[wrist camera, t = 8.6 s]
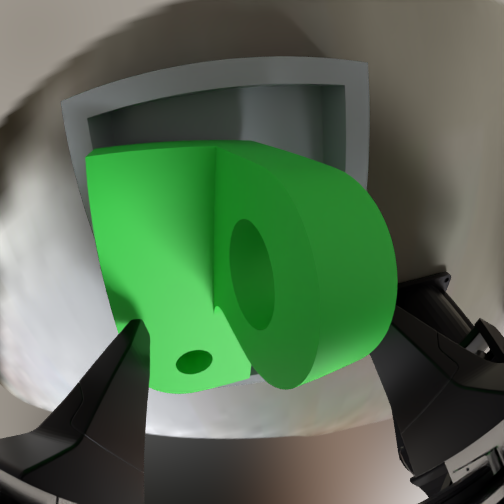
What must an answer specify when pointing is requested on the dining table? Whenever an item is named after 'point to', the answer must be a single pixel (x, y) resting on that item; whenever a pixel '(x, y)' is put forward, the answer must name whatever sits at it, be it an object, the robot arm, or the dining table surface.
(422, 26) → the dining table surface
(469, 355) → the robot arm
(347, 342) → the mechanical part
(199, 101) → the parts tray
